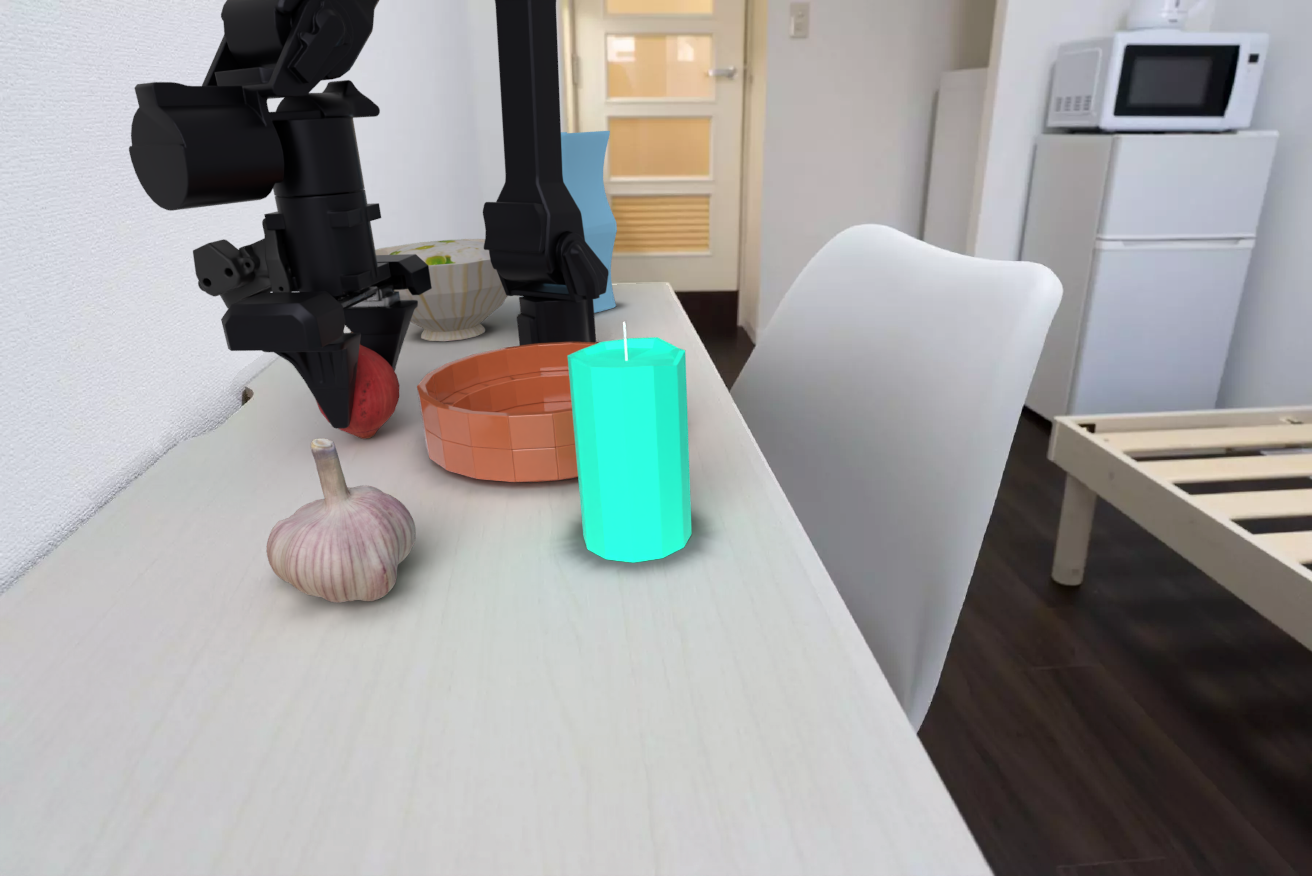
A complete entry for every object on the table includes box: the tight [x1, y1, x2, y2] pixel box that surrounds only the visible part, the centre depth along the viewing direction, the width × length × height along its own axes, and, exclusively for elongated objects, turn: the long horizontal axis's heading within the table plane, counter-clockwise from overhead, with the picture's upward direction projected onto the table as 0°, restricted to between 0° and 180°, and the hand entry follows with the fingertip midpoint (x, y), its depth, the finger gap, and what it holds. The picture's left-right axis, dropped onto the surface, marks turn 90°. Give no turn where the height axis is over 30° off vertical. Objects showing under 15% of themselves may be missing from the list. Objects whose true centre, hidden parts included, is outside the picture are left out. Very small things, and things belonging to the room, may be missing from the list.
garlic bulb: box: [266, 437, 417, 603], centre depth 41 cm, size 8×7×8 cm
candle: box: [567, 321, 693, 563], centre depth 44 cm, size 6×6×12 cm
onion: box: [315, 331, 400, 440], centre depth 61 cm, size 6×6×8 cm
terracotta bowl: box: [416, 341, 598, 483], centre depth 59 cm, size 17×17×5 cm
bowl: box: [375, 238, 509, 342], centre depth 90 cm, size 19×19×10 cm
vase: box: [561, 130, 618, 314], centre depth 97 cm, size 8×8×20 cm
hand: (361, 412), depth 61 cm, fingers closed on onion, 6 cm apart
